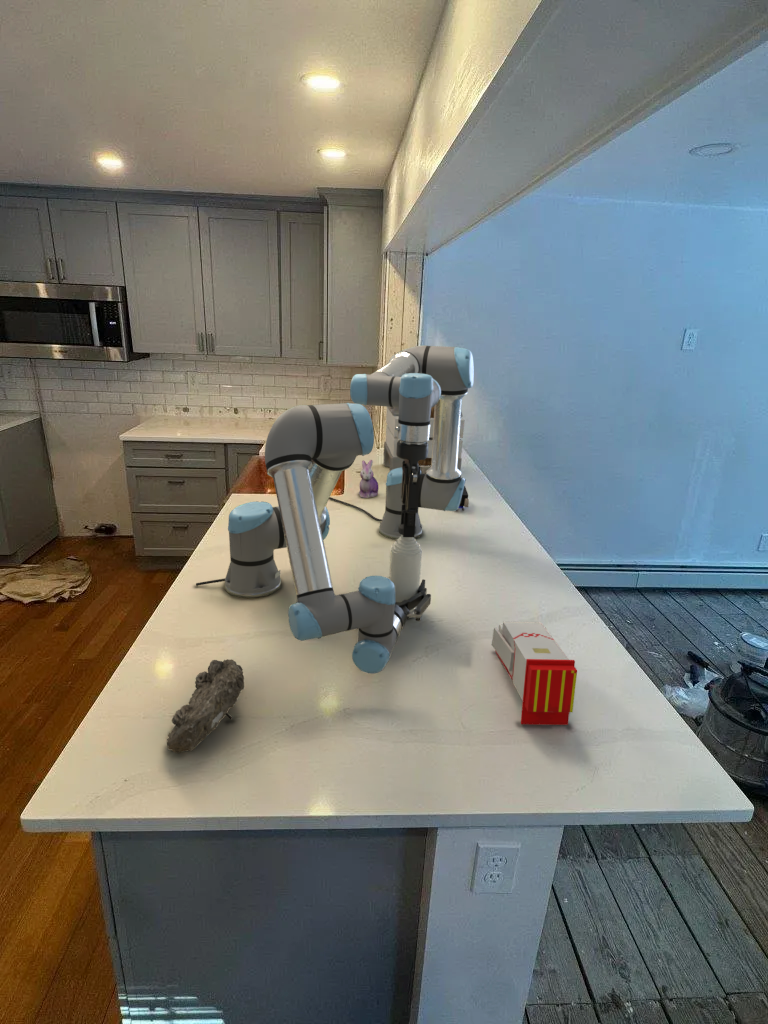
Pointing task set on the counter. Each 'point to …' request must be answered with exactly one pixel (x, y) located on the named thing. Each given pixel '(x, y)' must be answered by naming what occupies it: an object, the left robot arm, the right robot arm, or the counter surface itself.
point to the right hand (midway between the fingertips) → (407, 532)
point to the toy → (537, 671)
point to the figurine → (368, 481)
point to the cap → (402, 529)
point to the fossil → (206, 705)
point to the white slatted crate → (391, 440)
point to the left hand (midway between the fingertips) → (407, 581)
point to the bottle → (405, 567)
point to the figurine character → (464, 499)
